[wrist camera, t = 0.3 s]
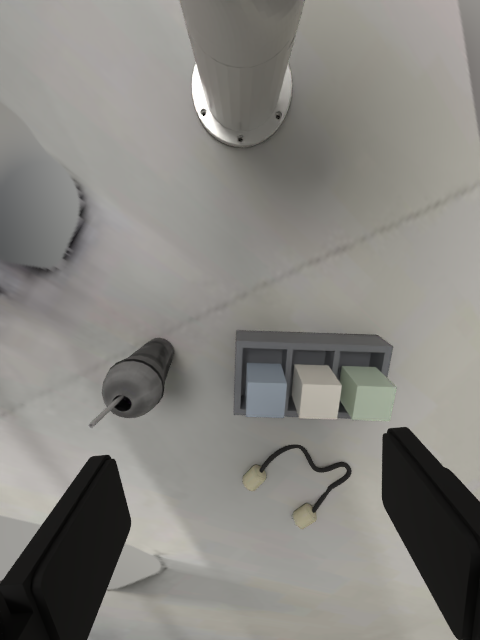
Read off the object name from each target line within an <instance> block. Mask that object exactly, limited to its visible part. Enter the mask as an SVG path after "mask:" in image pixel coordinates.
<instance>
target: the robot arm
mask: <svg viewBox="0 0 480 640" xmlns="http://www.w3.org/2000/svg"><path fill="white" fill-rule="evenodd" d="M304 2H305V0H180V4H181V8H182V12H183V16H184V19H185V23H186V27H187V31H188V35H189V39H190V42H191V46H192V50H193V54H194V58H195V62H196V63H195V65H194V70H193V74H192V84H191V89H192V99H193V102H194V106H195V110H196V112H197V115H198V117H199V119H200V121H201V123H202V124H203V126H204V127H205V128H206V130H207V131H208V132H209V133H210V134H211V135H212V136H213V137H214V138H216V139H217V140H219V141H220V142H222V143H224V144H227V145H230V146H233V147H250V146H254V145H257V144H259V143H261V142H263V141H265V140H266V139H268V138H269V137H270V136H271V135H272V134H274V133H275V132H276V130H277V129H278V128H279V127H280V125H281V124H282V122H283V120H284V118H285V116H286V114H287V111H288V109H289V105H290V101H291V97H292V74H291V70H290V66H289V58H290V55H291V51H292V47H293V44H294V40H295V36H296V32H297V29H298V25H299V21H300V18H301V14H302V9H303V6H304ZM203 113H206V116H202V115H203ZM276 116H279V117H280V119H276ZM239 139H242V142H239V141H238V140H239ZM382 501H383V505H384V507H385V509H386V511H387V513H388V515H389V517H390V519H391V521H392V522H393V524H394V526H395V528H396V530H397V532H398V533H399V535H400V537H401V539H402V541H403V543H404V545H405V546H406V548H407V550H408V552H409V554H410V556H411V557H412V559H413V561H414V563H415V565H416V567H417V568H418V570H419V572H420V574H421V576H422V578H423V579H424V581H425V583H426V585H427V587H428V589H429V590H430V592H431V594H432V596H433V598H434V600H435V601H436V603H437V605H438V607H439V609H440V611H441V612H442V614H443V616H444V618H445V620H446V622H447V623H448V625H449V627H450V629H451V631H452V632H453V634H454V635H455V637H456V638H457V639H458V640H480V502H479V501H478V499H477V498H476V497H475V496H474V495H473V494H472V493H471V492H470V491H469V490H468V489H467V488H466V486H465V485H464V484H463V483H462V482H461V481H460V480H459V479H458V478H457V477H456V476H455V475H454V474H453V473H452V472H451V471H450V470H449V469H447V468H445V467H443V466H442V465H441V463H440V462H439V461H438V460H437V459H436V458H435V457H434V456H433V455H432V454H431V453H430V451H429V450H428V449H427V448H426V447H425V446H424V445H423V444H422V443H421V442H420V440H419V439H418V438H417V437H416V436H415V435H414V434H413V433H412V432H411V431H410V429H408V428H407V427H400V428H390V429H388V431H387V433H385V434H383V448H382ZM130 527H131V517H130V514H129V510H128V506H127V502H126V498H125V494H124V491H123V487H122V483H121V479H120V475H119V471H118V467H117V464H116V461H115V459H111V457H110V456H109V455H101V456H92V457H90V459H89V460H88V461H87V462H86V464H85V465H84V467H83V468H82V469H81V471H80V472H79V474H78V475H77V476H76V478H75V479H74V481H73V482H72V483H71V485H70V486H69V488H68V489H67V491H66V492H65V493H64V495H63V496H62V498H61V499H60V500H59V502H58V503H57V505H56V506H55V507H54V509H53V510H52V512H51V513H50V514H49V516H48V517H47V519H46V520H45V521H44V523H43V524H42V526H41V527H40V529H39V530H38V531H37V533H36V534H35V536H34V537H33V538H32V540H31V541H30V542H29V544H28V545H27V547H26V548H25V549H24V551H23V552H22V554H21V555H20V557H19V558H18V559H17V561H16V562H15V564H14V565H13V566H12V568H11V569H10V571H9V572H8V573H7V575H6V576H5V578H4V579H3V580H2V582H1V583H0V640H87V639H88V636H89V633H90V631H91V628H92V626H93V623H94V621H95V618H96V616H97V613H98V610H99V608H100V605H101V603H102V600H103V598H104V595H105V593H106V590H107V587H108V585H109V582H110V580H111V577H112V575H113V572H114V569H115V567H116V564H117V562H118V559H119V557H120V554H121V552H122V549H123V546H124V544H125V541H126V539H127V536H128V534H129V531H130Z"/></svg>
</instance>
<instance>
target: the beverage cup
mask: <svg viewBox="0 0 480 640" xmlns="http://www.w3.org/2000/svg"><path fill="white" fill-rule="evenodd" d="M173 354H174V350H173V347H172V345H171V343H170V342H169V341H167V340H165V339H162V338H155V339H153V340H151V341H150V342H148V343H146V344H145V345H144V346H142V347H141V348H140V349H139V350H137V351H136V352H135V353H133V354H132V355H131V356H130V357H128V358H126V359H124V360H122V361H120V362H117V363H116V364H115V365H114V366H112V367H111V368H110V370H109V372H108V374H107V375H106V378H105V380H104V382H103V388H102V396H103V400H104V403H105V405H106V406H107V408H106V409H105V410H104V411H103V412H101V413H100V414H99V415H98V416H97V417H96V418H95V419H94V420H93V421H92V422H91V423H90V424H89V427H90V428H93V427H94V426H95V425H96V424H97V423H98V422H99V421H100V420H101V419H102V418H103V417H104V416H105V415H106V414H107V413H108V412H109V411H111V412H112V413H113V414H115V415H117V416H119V417H124V418H136V417H139V416H142V415H144V414H146V413H148V412H149V411H150V410H151V409H153V408H154V407H155V406H156V405H157V404H158V403H159V401H160V400H161V398H162V396H163V392H164V384H165V379H166V376H167V373H168V371H169V368H170V365H171V362H172V358H173Z"/></svg>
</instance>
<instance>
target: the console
mask: <svg viewBox="0 0 480 640" xmlns="http://www.w3.org/2000/svg"><path fill="white" fill-rule="evenodd" d="M392 350H393V346H392V345H391V344H389V343H388V342H386V341H385V340H384V339H382V338H381V337H379V336H378V335H362V334H332V333H303V332H273V331H244V330H236V354H235V385H234V415H246V394H245V392H246V370H247V363H270V364H281V366H282V369H283V372H284V376H285V379H286V382H287V389H286V401H285V412H284V416H287V417H299V416H298V413H297V410H296V407H295V404H294V401H293V398H292V384H293V374H294V364H300V365H328V366H329V367H330V369H331V370H332V372H333V373H334V375H335V376H336V377H337V379H338V380H339V382H340V375H341V368H342V366H360V367H376V368H377V369H378V370H379V371H380V372H381V373H382V374H383V375H385V376H386V377H387V376H388V371H389V366H390V360H391V355H392ZM337 418H349V419H351V417H350V416H349V414H348V412H347V411H346V409H345V408H344V406H343V404H342V403H341V401H340V402H339V409H338V416H337Z"/></svg>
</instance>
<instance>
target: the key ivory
mask: <svg viewBox="0 0 480 640" xmlns="http://www.w3.org/2000/svg"><path fill="white" fill-rule="evenodd" d="M341 388H342V385H341V383H340V382H339V380H338V379H337V377H336V376H335V375H334V373H333V372H332V370H331V369H330V367H329V366H328V365H300V364H294V374H293V384H292V398H293V401H294V404H295V407H296V410H297V413H298V416H299V418H305V419H336V420H337V416H338V409H339V402H340V395H341Z"/></svg>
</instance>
